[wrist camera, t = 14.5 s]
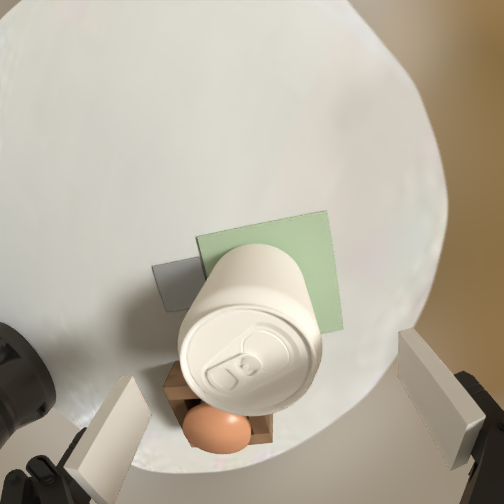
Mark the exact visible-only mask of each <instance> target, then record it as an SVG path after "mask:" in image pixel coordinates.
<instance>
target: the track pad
mask: <svg viewBox="0 0 504 504" xmlns="http://www.w3.org/2000/svg"><path fill="white" fill-rule="evenodd" d="M152 267H153V270H154V274H155V277H156V281H157V284H158V287H159V291H160V294H161V297H162V300H163V303H164V306H165V310H166V312H171V311H178V310H184V309H190V307H191V306H192V304H193V302H194V300H195V299H196V297H197V295H198V294H199V292H200V290H201V289H202V287H203V285H204V284H205V282H206V279H205V275H204V271H203V267H202V264H201V260H200V257H195V258H190V259H185V260H180V261H175V262H170V263H165V264H160V265H155V266H152Z"/></svg>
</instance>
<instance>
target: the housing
mask: <svg viewBox="0 0 504 504" xmlns="http://www.w3.org/2000/svg"><path fill="white" fill-rule="evenodd" d="M163 390H164V392H165V394H166V396H167V399H168V401H169V403H170V405H171V407H172V409H173V411H174V413H175V416H176V418H177V420H178V422H179V424H180V426H181V428H182V430H183V422H184V419H185V417H186V414H187V413H188V411H189V410H190V409H192V408H193V407H195V406H197V405H200V402H201V399H200V398H199V397H198V396H197V395H196V394H195V393H194V392H193V391H192V389H191V388H190V387H189V385H188V384H187V382H186V380H185V378H184V376H183V373H182V370H181V366H180V361H175V363H174V365H173V367H172V369H171V371H170V373H169V375H168V377H167V379H166V382H165V384H164V386H163ZM246 417H247V418H248V420H249V421H250V424H251V438H250V442H249V443H248V445H253V444H263V443H273V413H272V414H268V415H262V416H246ZM189 443H190V442H189ZM190 445H191V447H196V446H194V445H193V444H192V443H190Z"/></svg>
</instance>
